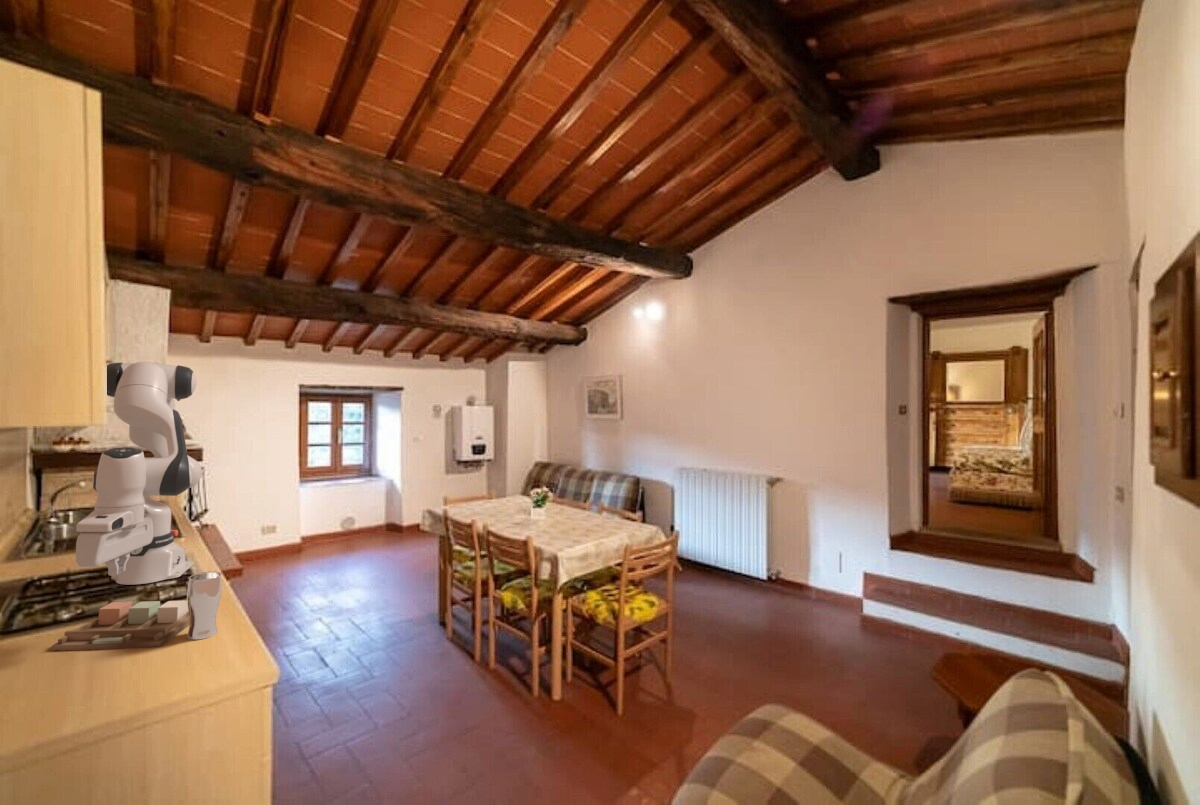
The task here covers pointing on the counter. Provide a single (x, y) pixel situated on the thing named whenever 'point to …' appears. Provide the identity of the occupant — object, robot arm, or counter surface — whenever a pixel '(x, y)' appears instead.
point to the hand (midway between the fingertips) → (116, 573)
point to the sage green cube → (143, 612)
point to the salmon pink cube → (113, 612)
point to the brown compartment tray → (121, 635)
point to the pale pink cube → (171, 611)
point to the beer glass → (203, 604)
